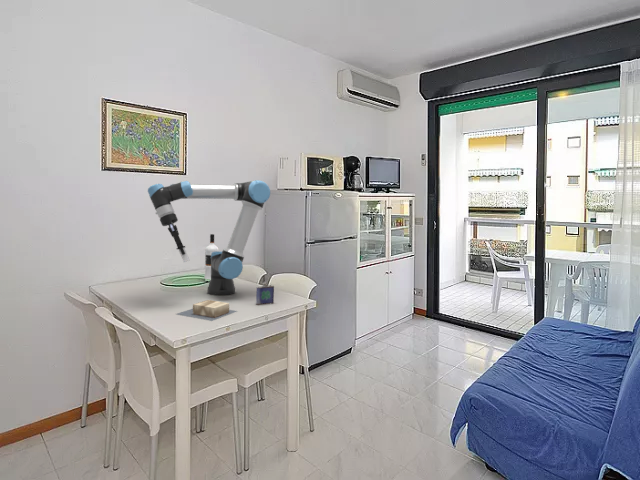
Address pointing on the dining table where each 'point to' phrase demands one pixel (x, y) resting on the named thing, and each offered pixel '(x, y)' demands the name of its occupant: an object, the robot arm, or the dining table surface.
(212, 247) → the vodka
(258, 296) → the flask
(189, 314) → the mat
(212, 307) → the wooden block
